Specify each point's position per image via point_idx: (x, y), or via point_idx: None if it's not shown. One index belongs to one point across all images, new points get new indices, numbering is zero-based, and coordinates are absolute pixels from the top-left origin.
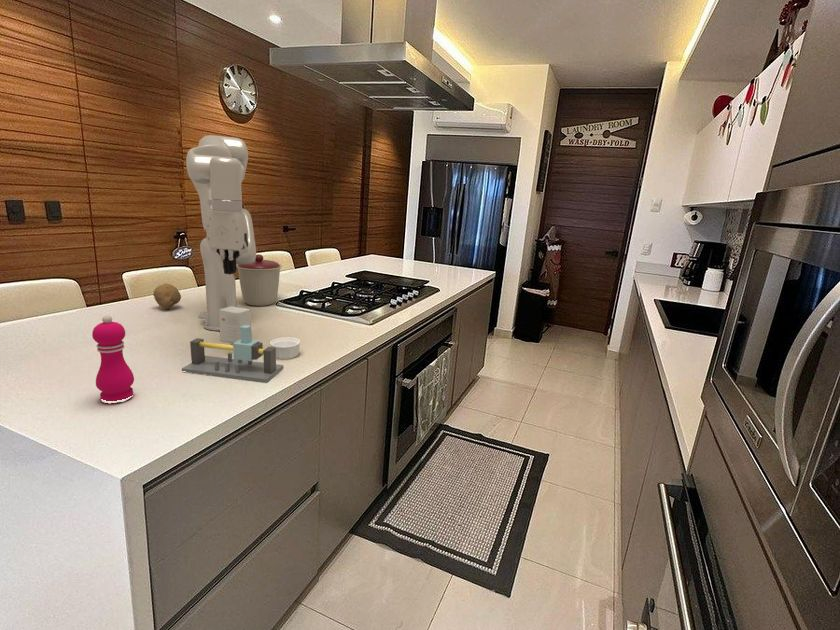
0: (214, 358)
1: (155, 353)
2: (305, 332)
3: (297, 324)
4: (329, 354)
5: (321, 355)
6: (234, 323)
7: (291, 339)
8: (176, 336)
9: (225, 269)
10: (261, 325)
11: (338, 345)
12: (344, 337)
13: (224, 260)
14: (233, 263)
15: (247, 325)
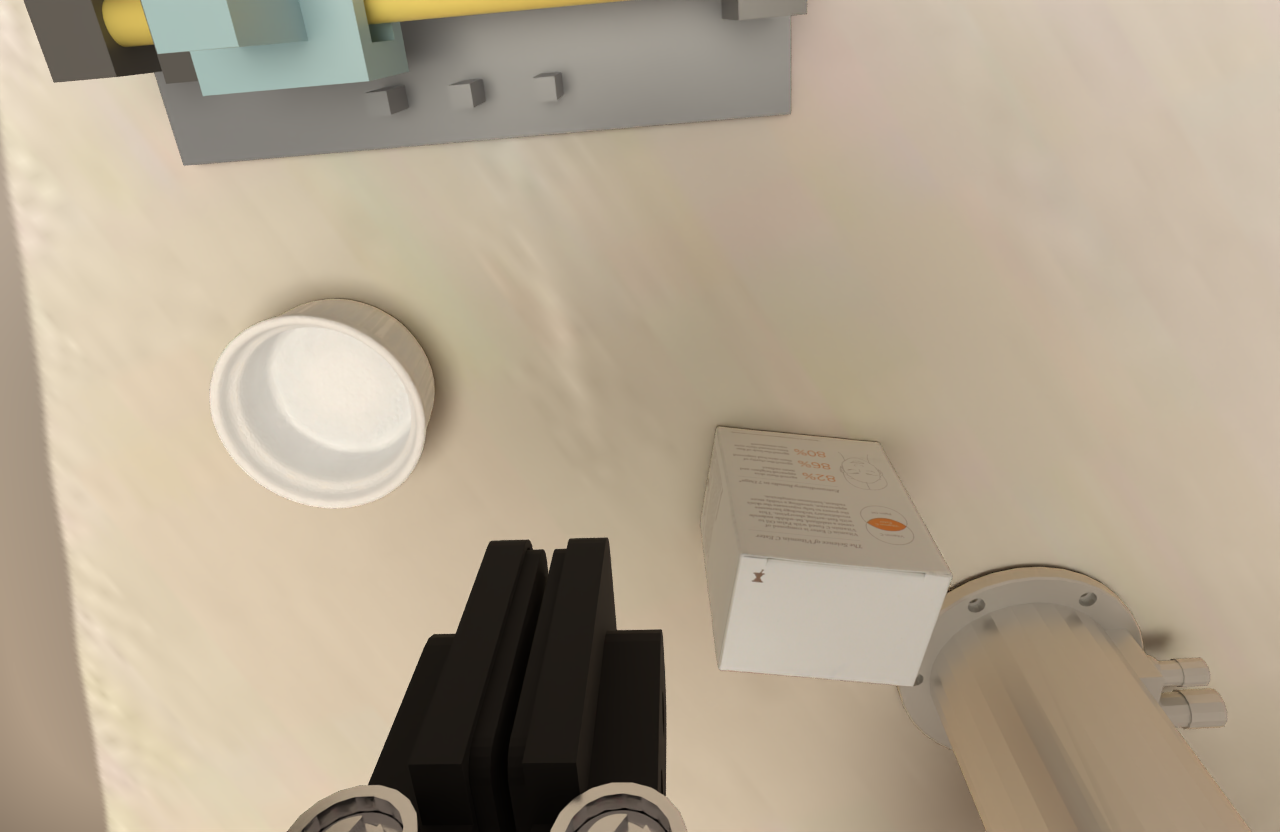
0: (687, 88)
1: (1184, 61)
2: None
3: None
4: (120, 477)
5: (149, 446)
6: (776, 505)
7: (337, 493)
8: (1208, 401)
9: (565, 589)
10: (790, 735)
11: (176, 615)
12: (233, 728)
13: (545, 749)
14: (386, 768)
15: (194, 46)
